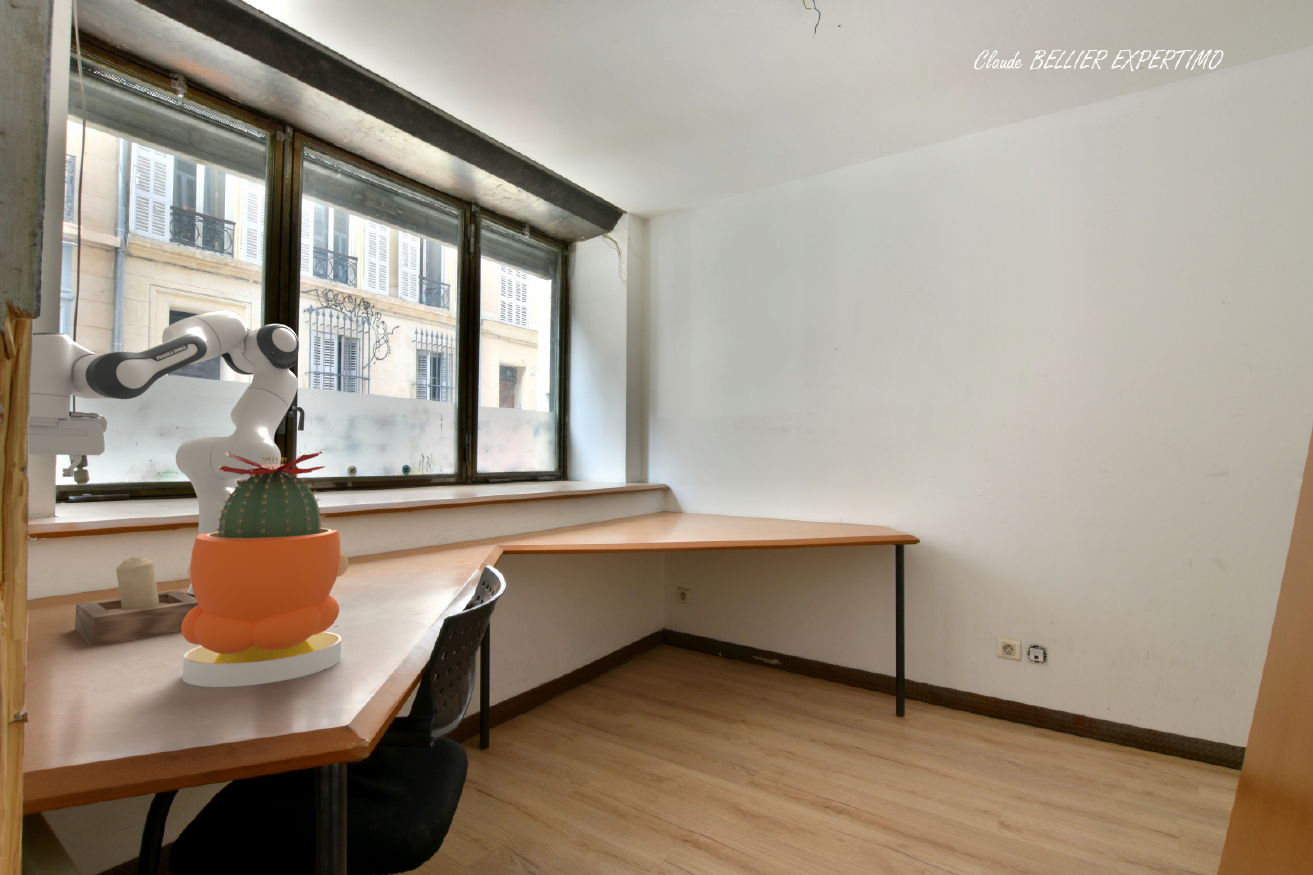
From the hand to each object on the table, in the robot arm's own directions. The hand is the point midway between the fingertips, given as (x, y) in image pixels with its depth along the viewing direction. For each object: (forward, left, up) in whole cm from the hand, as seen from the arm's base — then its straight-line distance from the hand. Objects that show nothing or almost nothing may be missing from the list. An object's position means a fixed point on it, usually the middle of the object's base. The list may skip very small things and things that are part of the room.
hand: (35, 477), depth 122 cm
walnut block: (-13, +23, -30) cm, 40 cm away
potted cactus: (-19, +68, -29) cm, 76 cm away
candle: (-13, +23, -25) cm, 37 cm away
